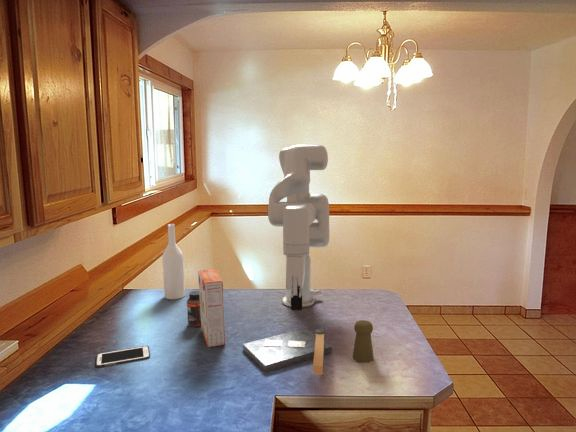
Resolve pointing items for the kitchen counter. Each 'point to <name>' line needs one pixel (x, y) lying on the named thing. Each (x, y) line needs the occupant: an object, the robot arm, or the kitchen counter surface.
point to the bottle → (173, 268)
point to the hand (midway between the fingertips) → (296, 309)
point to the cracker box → (211, 307)
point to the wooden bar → (319, 351)
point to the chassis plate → (283, 349)
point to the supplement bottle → (194, 309)
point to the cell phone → (122, 356)
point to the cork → (363, 342)
